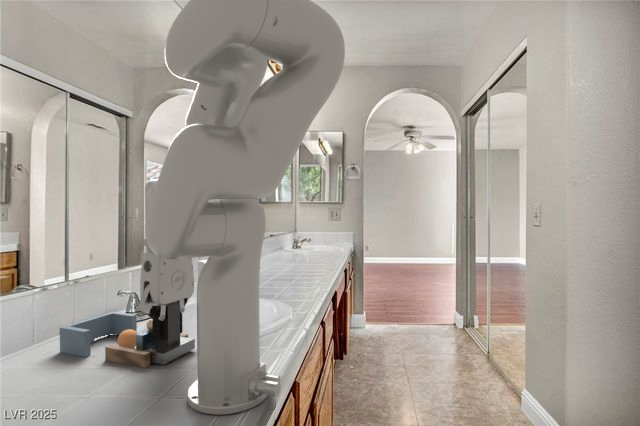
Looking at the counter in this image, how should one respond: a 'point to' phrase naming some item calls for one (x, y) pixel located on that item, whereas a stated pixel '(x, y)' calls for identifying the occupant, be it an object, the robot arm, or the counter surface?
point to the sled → (174, 343)
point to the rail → (129, 355)
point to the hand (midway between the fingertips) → (167, 335)
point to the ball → (127, 339)
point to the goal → (94, 331)
